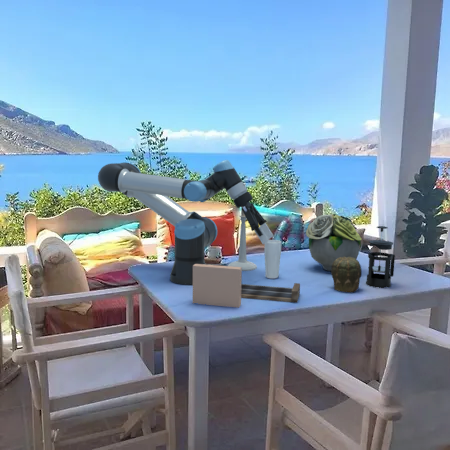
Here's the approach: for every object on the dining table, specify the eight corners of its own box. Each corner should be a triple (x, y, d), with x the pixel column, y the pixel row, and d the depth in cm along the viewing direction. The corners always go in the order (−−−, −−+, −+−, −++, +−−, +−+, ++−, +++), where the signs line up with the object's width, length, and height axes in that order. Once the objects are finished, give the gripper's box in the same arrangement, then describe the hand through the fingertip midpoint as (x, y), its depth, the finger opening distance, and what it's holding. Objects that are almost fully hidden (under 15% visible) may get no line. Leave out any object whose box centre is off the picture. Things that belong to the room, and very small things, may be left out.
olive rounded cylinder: (355, 284, 187) (356, 254, 185) (364, 293, 176) (366, 261, 174) (327, 284, 186) (328, 254, 184) (334, 293, 176) (336, 261, 174)
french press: (374, 289, 181) (378, 229, 178) (359, 282, 190) (362, 225, 186) (399, 286, 185) (404, 227, 182) (383, 280, 194) (387, 223, 190)
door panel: (192, 303, 162) (192, 265, 160) (195, 300, 164) (195, 263, 162) (239, 307, 158) (239, 269, 156) (240, 305, 161) (241, 267, 159)
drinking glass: (279, 280, 192) (280, 243, 189) (262, 279, 193) (263, 242, 191) (280, 275, 198) (282, 240, 196) (264, 274, 199) (265, 239, 197)
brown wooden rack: (217, 295, 170) (217, 284, 170) (224, 287, 180) (224, 277, 179) (297, 302, 164) (297, 291, 163) (299, 294, 173) (300, 283, 173)
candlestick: (256, 264, 218) (257, 198, 213) (257, 271, 205) (259, 201, 200) (228, 263, 218) (229, 197, 213) (227, 270, 205) (228, 200, 201)
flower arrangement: (292, 268, 211) (294, 213, 207) (327, 260, 227) (329, 209, 224) (340, 280, 193) (343, 220, 189) (374, 270, 209) (377, 215, 205)
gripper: (242, 191, 180) (272, 239, 180) (253, 189, 204) (280, 231, 204) (225, 202, 182) (255, 250, 181) (238, 198, 206) (265, 240, 206)
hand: (268, 240), depth 193 cm, fingers open, 13 cm apart
